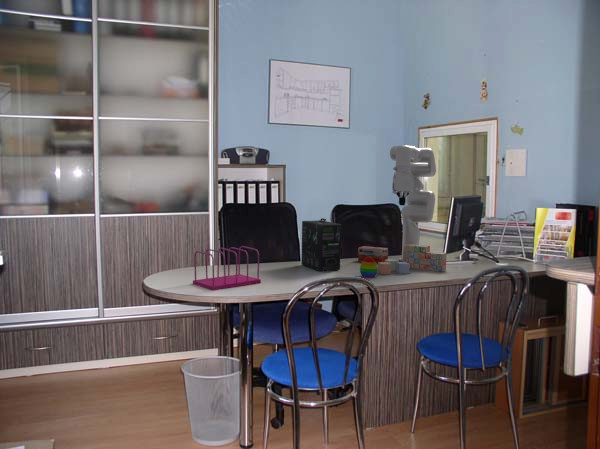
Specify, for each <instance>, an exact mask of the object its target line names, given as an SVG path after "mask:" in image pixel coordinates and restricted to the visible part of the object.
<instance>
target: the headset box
mask: <svg viewBox="0 0 600 449" xmlns="http://www.w3.org/2000/svg"><path fill="white" fill-rule="evenodd" d="M326 220H327V218H323V217H321V218H320V219H319V220H302V221H301V263H300V264H301V265H302V266H305V267H308V268H310V269H313V270H316V271H318V272H320V273H321V272H332V271H333V272H335V271H339V270H341V241H342V240H341V238H342V237H341V236H342V224H341V223H337V222H336V223H335V222H332V221H326Z"/></svg>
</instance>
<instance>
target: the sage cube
mask: <svg viewBox="0 0 600 449" xmlns="http://www.w3.org/2000/svg"><path fill="white" fill-rule="evenodd" d="M385 262H388V263H391V271H395V268H396V262H399V260H397V259H394V258H391V259H390V258H388V259H386V260H385Z"/></svg>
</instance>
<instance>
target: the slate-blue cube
mask: <svg viewBox="0 0 600 449" xmlns="http://www.w3.org/2000/svg"><path fill="white" fill-rule="evenodd" d="M395 272H396V273H399V274H398V275H409V274H408V273H410V268H409V263H407V262H403V261H398V262H396V268H395Z"/></svg>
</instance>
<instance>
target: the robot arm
mask: <svg viewBox="0 0 600 449" xmlns="http://www.w3.org/2000/svg"><path fill="white" fill-rule="evenodd" d="M389 156H390V159H391V160H392V161H395V166H393V168H392V170H393V171H395V172H394V173H393V178H392V185H391V187H392V192H391V193H392V194H393V195H396V196H397V197H398V204H399V206H402V209H401V220H402V252H401V257H399V260H398V261H399V262H403V251H404V245H407V244H413V245H420V239H421V238H420V236H421V235H420V232H421V231H420V228H419V226H418V225H417V223H423V224H424V223H426V224H427V223H431V222H432V221H433V217H434V211H435V206H436V205H435V204H436V195H435V193H434V192H433V191H432V190H424V189H425V188H424V186H425V185H424V184H423V182H422V181H421V180H420V178H432V177H434V176H435V175H436V173H437V165H436V159H435V154H434V151H433V149H431V148H430V147H423V148H421V147H419V148H418V147H416V146H414V145H395V146H392V147H391V148H390V150H389ZM406 204H407V205H406Z"/></svg>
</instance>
